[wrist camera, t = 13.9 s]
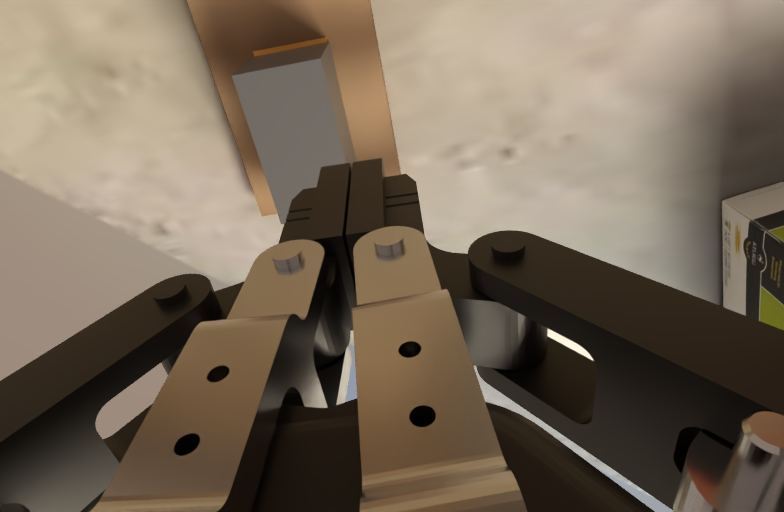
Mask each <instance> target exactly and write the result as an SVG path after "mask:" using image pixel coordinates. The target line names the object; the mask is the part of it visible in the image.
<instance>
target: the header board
mask: <svg viewBox="0 0 784 512" xmlns="http://www.w3.org/2000/svg"><path fill="white" fill-rule="evenodd" d="M187 3H188V6H189V9H190V11H191V14H192V17H193V20H194V23H195V26H196V29H197V31H198V34H199V37H200V40H201V43H202V46H203V49H204V52H205V54H206V57H207V60H208V63H209V66H210V69H211V72H212V74H213V77H214V80H215V83H216V86H217V89H218V92H219V95H220V97H221V100H222V103H223V106H224V109H225V112H226V115H227V117H228V120H229V123H230V126H231V129H232V132H233V135H234V137H235V140H236V143H237V146H238V149H239V152H240V155H241V158H242V160H243V163H244V166H245V169H246V172H247V175H248V178H249V180H250V183H251V186H252V189H253V192H254V195H255V198H256V201H257V203H258V206H259V209H260V212H261V215H262V216H266V215H272V214H278V213H277V210H276V207H275V204H274V201H273V198H272V195H271V192H270V189H269V186H268V183H267V180H266V177H265V174H264V171H263V168H262V165H261V162H260V159H259V156H258V153H257V150H256V147H255V144H254V141H253V138H252V135H251V132H250V129H249V126H248V123H247V120H246V117H245V114H244V111H243V108H242V105H241V102H240V99H239V96H238V93H237V90H236V87H235V84H234V81H233V78H232V75H233V74H234V73H235V72H236V71H238V70H239V69H240V68H241V67H242V66H243V65H244V64H245V63H247V62H248V61H249V60H250V59H251V58H252V57H255V56H260V55H265V54H270V53H275V52H280V51H285V50H290V49H295V48H300V47H305V46H311V45H316V44H321V43H326V42H329V43H330V47H331V52H332V56H333V61H334V65H335V69H336V74H337V78H338V83H339V87H340V91H341V96H342V100H343V105H344V109H345V113H346V118H347V122H348V127H349V131H350V135H351V140H352V144H353V149H354V153H355V157H356V162H357V161H363V160H370V159H377V158H382V159H383V164H384V169H385V175H386V177H389V176H395V175H401V172H400V166H399V161H398V155H397V149H396V144H395V138H394V132H393V127H392V121H391V116H390V110H389V104H388V99H387V93H386V87H385V82H384V76H383V70H382V65H381V59H380V53H379V48H378V42H377V37H376V31H375V25H374V20H373V14H372V8H371V3H370V0H187Z"/></svg>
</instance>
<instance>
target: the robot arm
mask: <svg viewBox="0 0 784 512" xmlns="http://www.w3.org/2000/svg"><path fill="white" fill-rule="evenodd" d="M548 329H550V330H552V331H554V332H556V333H558V334H560V335H561V336H563V337H565V338H567V339H569V340H571V341H573V342H575V343H577V344H578V345H580V346H581V347H583V348H584V349H585V350H586V351H587V352H588V353H589V354H590V356H591V357H592V358H593V360H594V361H593V360H591V359H589V358H587V357H585V356H583V355H581V354H580V353H578V352H576V351H574V350H572V349H570V348H568V347H567V346H565V345H563V344H561V343H559V342H557V341H556V340H554V339H552V338H550V337H548V336H547V334H548ZM350 330H353V332H354V349H355V366H356V383H357V399H354V400H351V401H348V402H345V399H346V393H347V387H348V380H349V374H350V367H351V361H352V355H351V351H350V347H349V341H350ZM159 363H162V365H163V367H164V368H165V370H166V372H167V374H168V377H167V379H166V381H165V383H164V385H163V386H162V388H161V390H160V392H159V394H158V395H157V397H156V399H155V401H154V403H153V404H152V405H150V406H149V407H148V408H146V409H145V410H144V411H143V412H141V413H140V414H139V415H138V416H136V417H135V418H134V419H133V420H131V421H130V422H129V423H127V424H126V425H125V426H124V427H122V428H121V429H120V430H119V431H117V432H116V433H115V434H114V435H112V436H110V437H108V438H106V439H102V438H101V437H100V435H99V434H98V432H97V431H96V428H95V421H96V417H97V414H98V413H99V411H100V410H101V408H102V407H103V406H104V405H105V404H106V403H107V402H108V401H109V400H111V399H112V398H113V397H115V396H116V395H117V394H119V393H120V392H121V391H123V390H124V389H126V388H127V387H128V386H130V385H131V384H132V383H134V382H135V381H136V380H138V379H139V378H140V377H142V376H143V375H144V374H146V373H147V372H148V371H150V370H151V369H152V368H154V367H155V366H156V365H158V364H159ZM473 365H474V366H477V370H478V373H479V375H480V377H481V378H482V379H483V380H484V381H485V382H486V383H488V384H489V385H490V386H492V387H493V388H495V389H496V390H498V391H499V392H501V393H502V394H504V395H505V396H507V397H508V398H510V399H511V400H512V401H514V402H515V403H517V404H518V405H520V406H521V407H523V408H524V409H526V410H527V411H529V412H530V413H531V414H533V415H534V416H536V417H537V418H539V419H540V420H542V421H543V422H545V423H546V424H548V425H549V426H551V427H552V428H553V429H555V430H556V431H558V432H559V433H561V434H562V435H564V436H565V437H567V438H568V439H570V440H571V441H573V442H574V443H575V444H577V445H578V446H580V447H581V448H583V449H584V450H586V451H587V452H589V453H590V454H592V455H593V456H594V457H596V458H597V459H599V460H600V461H602V462H603V463H605V464H606V465H608V466H609V467H611V468H612V469H614V470H615V471H616V472H618V473H619V474H621V475H622V476H624V477H625V478H627V479H628V480H630V481H631V482H633V483H634V484H636V485H637V486H638V487H640V488H641V489H643V490H644V491H646V492H647V493H649V494H650V495H652V496H653V497H655V498H656V499H657V500H659V501H660V502H662V503H663V504H665V505H666V506H668V507H669V508H671V509H672V510H673V512H784V330H782V329H779V328H776V327H774V326H771V325H769V324H766V323H763V322H761V321H758V320H755V319H753V318H750V317H748V316H745V315H742V314H740V313H737V312H735V311H732V310H729V309H727V308H724V307H722V306H719V305H716V304H714V303H711V302H708V301H706V300H703V299H701V298H698V297H695V296H693V295H690V294H688V293H685V292H682V291H680V290H677V289H674V288H672V287H669V286H667V285H664V284H661V283H659V282H656V281H654V280H651V279H648V278H646V277H643V276H641V275H638V274H635V273H633V272H630V271H627V270H625V269H622V268H620V267H617V266H614V265H612V264H609V263H607V262H604V261H601V260H599V259H596V258H593V257H591V256H588V255H586V254H583V253H580V252H578V251H575V250H573V249H570V248H567V247H565V246H562V245H560V244H557V243H554V242H552V241H549V240H546V239H544V238H541V237H539V236H536V235H533V234H530V233H527V232H522V231H499V232H494V233H490V234H487V235H484V236H482V237H480V238H478V239H477V240H476V241H474V242H473V243H472V244H471V246H470V248H469V250H468V254H462V253H451V252H446V251H443V250H440V249H437V248H435V247H433V246H432V245H431V244H429V243H428V242H427V240H426V238H425V235H424V229H423V223H422V217H421V210H420V204H419V198H418V192H417V185H416V182H415V181H414V180H413V179H412V178H410V177H409V176H408V175H407V174H402V175H395V176H389V177H386V175H385V169H384V164H383V159H382V158H377V159H370V160H363V161H357V162H353V164H351V163H344V164H337V165H330V166H324V167H321V170H320V174H319V178H318V183H317V187H314V188H308V189H303V190H302V191H301V192H300V193H299V194H298V195H297V196H296V197H294V198H293V199H292V201H291V204H290V208H289V213H288V214H287V218H286V223H285V224H284V227H283V231H282V234H281V237H280V241H279V244H277V245H275V246H273V247H271V248H269V249H267V250H266V251H264V252H263V253H261V254H260V255H259V256H258V257H257V258H256V260H255V261H254V263H253V265H252V267H251V269H250V271H249V274H248V276H247V278H246V280H245V281H244V282H242V283H239V284H236V285H233V286H230V287H227V288H224V289H221V290H218V291H215V292H214V290H213V287H212V285H211V283H210V280H209V279H208V278H207V277H205V276H203V275H200V274H183V275H179V276H175V277H171V278H168V279H166V280H163V281H161V282H160V283H157V284H155V285H154V286H152V287H150V288H149V289H147V290H145V291H144V292H142V293H141V294H139V295H138V296H136V297H134V298H133V299H131V300H130V301H128V302H126V303H125V304H123V305H122V306H120V307H119V308H117V309H115V310H113V311H112V312H110V313H109V314H107V315H105V316H104V317H102V318H101V319H99V320H97V321H96V322H94V323H93V324H91V325H89V326H88V327H86V328H85V329H83V330H81V331H80V332H78V333H77V334H75V335H73V336H72V337H70V338H69V339H67V340H66V341H64V342H62V343H61V344H59V345H57V346H56V347H54V348H53V349H51V350H49V351H48V352H46V353H45V354H43V355H41V356H40V357H38V358H37V359H35V360H33V361H32V362H30V363H28V364H27V365H25V366H24V367H22V368H20V369H19V370H17V371H16V372H14V373H12V374H11V375H10V376H8V377H6V378H4V379H3V380H1V381H0V512H654V511H653V510H652V509H650V508H649V507H647V506H646V505H645V504H644V503H642V502H641V501H639V500H638V499H637V498H635V497H634V496H633V495H631V494H630V493H629V492H627V491H626V490H625V489H623V488H622V487H621V486H619V485H618V484H617V483H615V482H614V481H613V480H611V479H610V478H609V477H607V476H606V475H604V474H603V473H602V472H600V471H599V470H598V469H596V468H595V467H594V466H592V465H591V464H590V463H588V462H587V461H586V460H584V459H583V458H582V457H580V456H579V455H578V454H576V453H575V452H573V451H572V450H571V449H569V448H568V447H567V446H565V445H564V444H563V443H561V442H560V441H559V440H557V439H556V438H555V437H553V436H552V435H551V434H549V433H548V432H547V431H545V430H544V429H543V428H541V427H540V426H538V425H537V424H535V423H534V422H532V421H530V420H529V419H527V418H525V417H523V416H522V415H520V414H518V413H515V412H513V411H511V410H508V409H506V408H504V407H501V406H497V405H494V404H491V403H487V402H485V400H484V397H483V394H482V391H481V388H480V385H479V382H478V379H477V376H476V373H475V370H474V367H473Z"/></svg>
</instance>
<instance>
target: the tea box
mask: <svg viewBox="0 0 784 512" xmlns="http://www.w3.org/2000/svg"><path fill="white" fill-rule="evenodd" d="M722 233H723V307H724V308H727V309H729V310H732V311H735V312H737V313H740V314H742V315H745V316H748V317H750V318H753V319H755V320H758V321H761V322H763V323H766V324H769V325H771V326H774V327H776V328H779V329H782V330H784V181H783V182H779V183H776V184H773V185H769V186H766V187H763V188H759V189H756V190H752V191H749V192H746V193H743V194H740V195H737V196H734V197H731V198H728V199H725V200H723V201H722Z"/></svg>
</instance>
